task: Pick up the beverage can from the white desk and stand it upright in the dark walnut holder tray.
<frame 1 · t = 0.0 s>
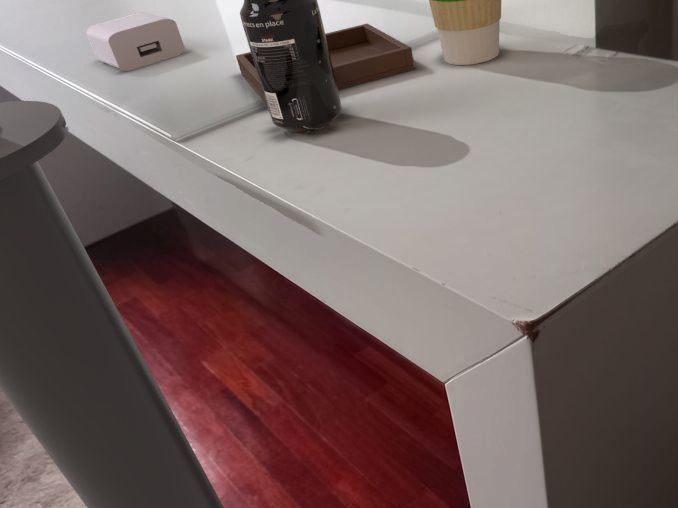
holder: (324, 72, 79), on the table
charger: (135, 57, 97), on the table
coffee cup: (471, 57, 78), on the table
beverage can: (310, 125, 67), on the table
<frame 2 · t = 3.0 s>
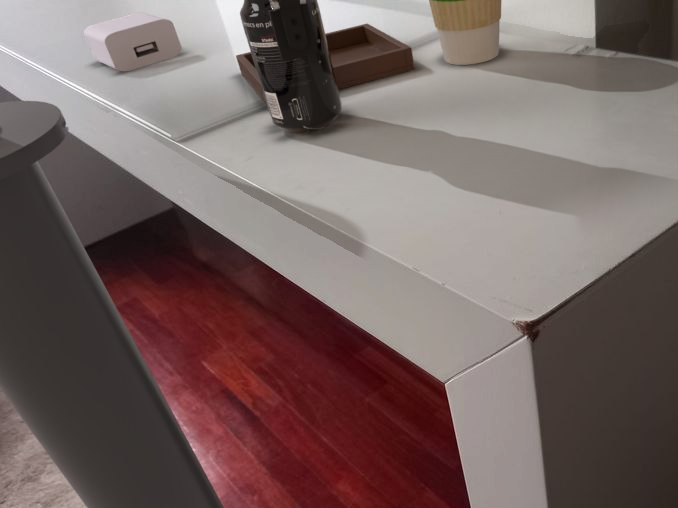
hand: (289, 45, 62), 7 cm above the table, tool pointing down, fingers closed on beverage can, 6 cm apart
beverage can: (310, 125, 67), on the table, touching gripper
everything else where it was.
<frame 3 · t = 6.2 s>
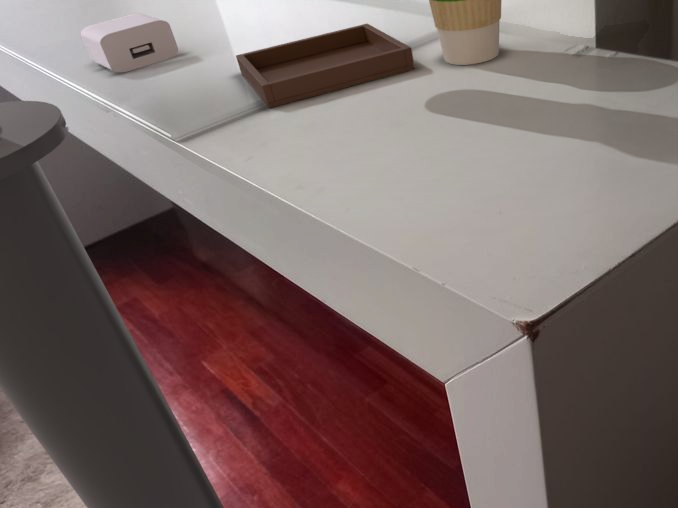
when the fingers open (8 cm above the table, at t = 9.8 s): beverage can stays where it is, resting on holder.
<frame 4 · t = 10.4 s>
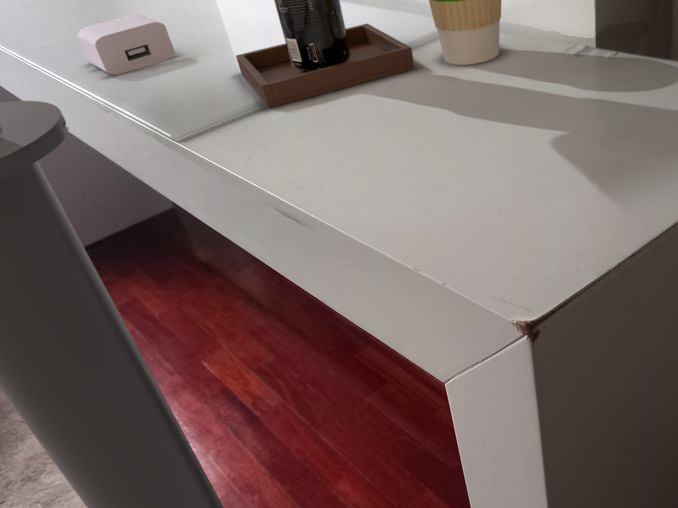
beverage can: (323, 69, 79), resting on holder
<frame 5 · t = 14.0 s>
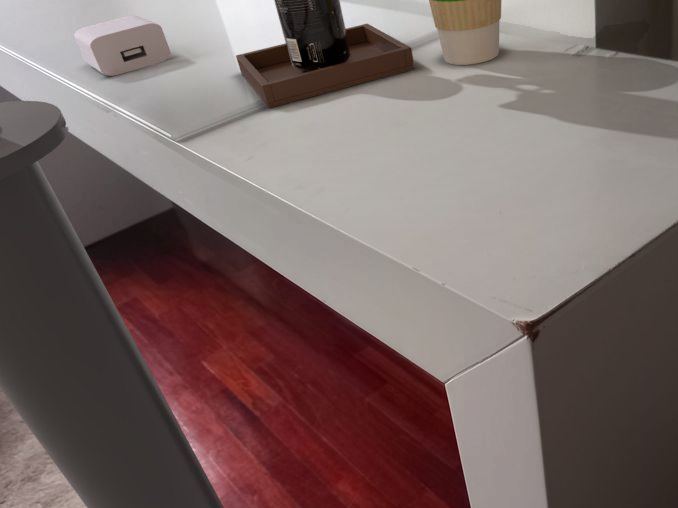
at the end: beverage can inside the target area in the holder (0.0 cm from its centre), point 0.3 cm above the holder's base; beverage can tilted 0°; the gripper is holding nothing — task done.
